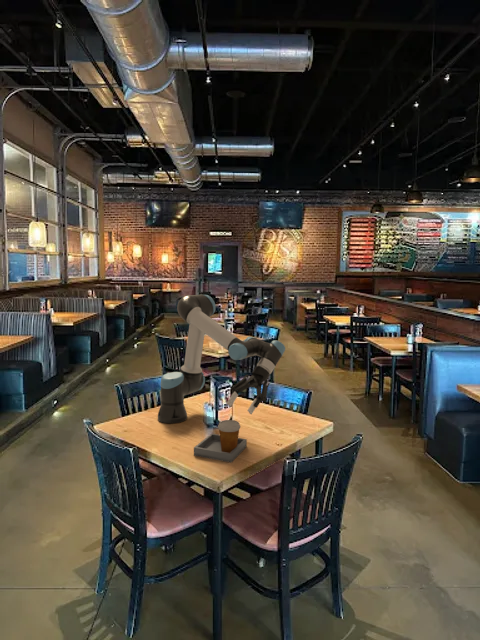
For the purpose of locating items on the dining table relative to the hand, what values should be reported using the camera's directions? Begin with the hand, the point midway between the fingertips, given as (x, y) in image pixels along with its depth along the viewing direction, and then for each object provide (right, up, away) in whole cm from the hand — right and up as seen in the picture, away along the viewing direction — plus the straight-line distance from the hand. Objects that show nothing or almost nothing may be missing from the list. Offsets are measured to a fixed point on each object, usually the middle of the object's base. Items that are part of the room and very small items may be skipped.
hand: (238, 408), depth 192 cm
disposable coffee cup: (-4, -17, -7) cm, 18 cm away
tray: (-8, -17, -5) cm, 19 cm away
